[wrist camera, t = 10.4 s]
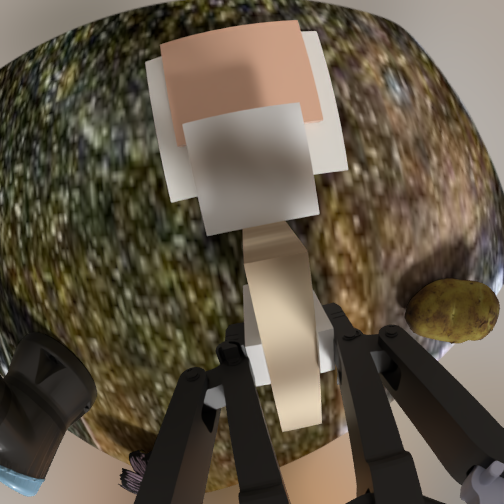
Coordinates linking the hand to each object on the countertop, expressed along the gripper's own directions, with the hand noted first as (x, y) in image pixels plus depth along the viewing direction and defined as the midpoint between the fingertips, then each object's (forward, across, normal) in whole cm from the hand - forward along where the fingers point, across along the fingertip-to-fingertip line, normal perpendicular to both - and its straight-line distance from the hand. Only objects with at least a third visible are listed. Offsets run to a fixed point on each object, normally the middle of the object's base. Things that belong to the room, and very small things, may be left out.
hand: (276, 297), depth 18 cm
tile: (+6, -1, -12) cm, 13 cm away
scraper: (0, 0, -3) cm, 3 cm away
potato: (+8, -21, +10) cm, 24 cm away
